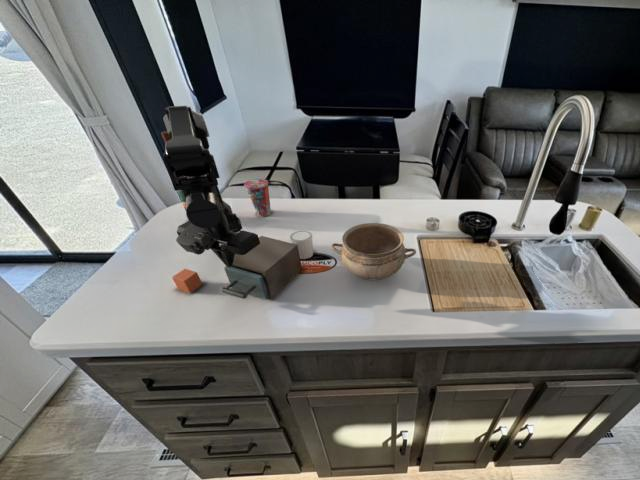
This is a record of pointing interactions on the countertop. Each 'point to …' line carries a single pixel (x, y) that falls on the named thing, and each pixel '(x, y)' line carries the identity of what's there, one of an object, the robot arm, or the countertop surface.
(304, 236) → the white short cylinder
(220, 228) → the robot arm
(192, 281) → the block
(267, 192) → the cup
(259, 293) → the drawer
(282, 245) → the cabinet
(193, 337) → the countertop surface
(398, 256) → the cooking pot
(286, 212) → the countertop surface
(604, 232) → the countertop surface
